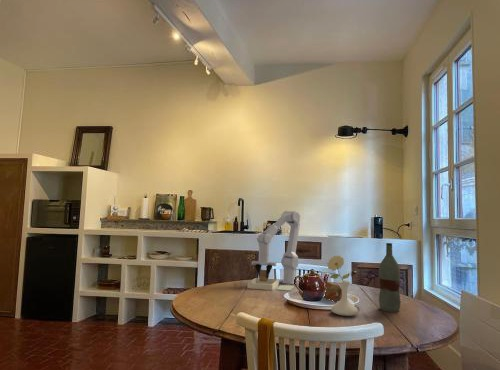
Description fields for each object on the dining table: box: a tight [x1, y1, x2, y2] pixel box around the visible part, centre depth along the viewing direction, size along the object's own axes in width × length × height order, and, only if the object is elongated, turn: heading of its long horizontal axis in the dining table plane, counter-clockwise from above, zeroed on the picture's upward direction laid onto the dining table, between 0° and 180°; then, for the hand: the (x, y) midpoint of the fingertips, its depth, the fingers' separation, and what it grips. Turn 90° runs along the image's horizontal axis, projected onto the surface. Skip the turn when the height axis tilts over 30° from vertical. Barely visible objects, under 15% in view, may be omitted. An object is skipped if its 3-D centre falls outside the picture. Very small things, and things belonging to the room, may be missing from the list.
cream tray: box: [246, 277, 280, 291], centre depth 212 cm, size 16×15×3 cm
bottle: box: [378, 242, 401, 313], centre depth 167 cm, size 9×9×30 cm
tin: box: [323, 281, 342, 302], centre depth 183 cm, size 15×3×8 cm, turn 25°
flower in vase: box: [326, 255, 359, 317], centre depth 158 cm, size 13×11×25 cm
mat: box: [275, 284, 295, 292], centre depth 208 cm, size 12×8×1 cm, turn 163°
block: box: [258, 269, 269, 282], centre depth 212 cm, size 4×4×6 cm
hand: (263, 277), depth 212 cm, fingers closed on block, 4 cm apart
